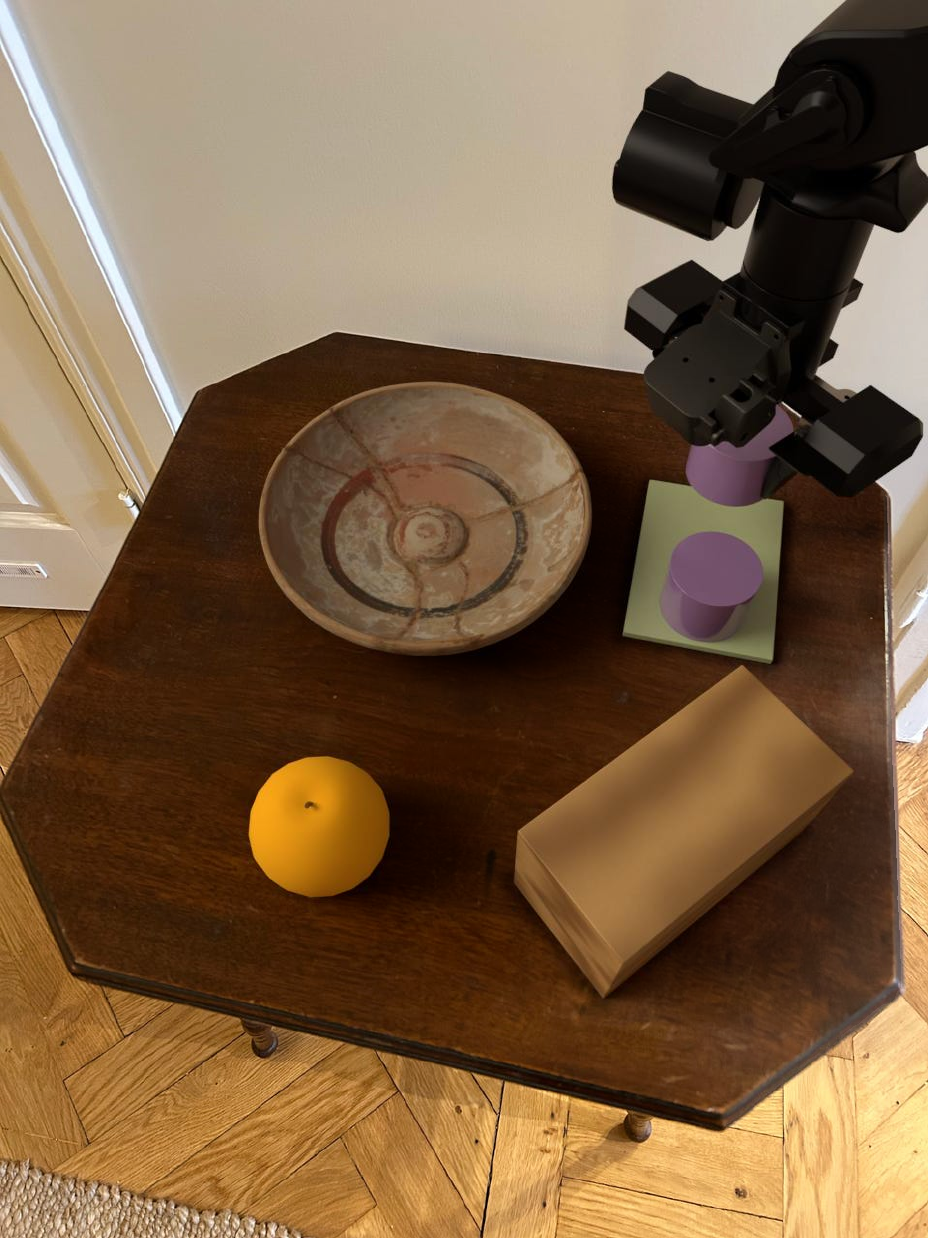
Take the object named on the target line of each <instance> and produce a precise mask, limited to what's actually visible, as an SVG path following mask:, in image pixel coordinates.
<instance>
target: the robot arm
mask: <svg viewBox="0 0 928 1238" xmlns="http://www.w3.org/2000/svg"><path fill="white" fill-rule="evenodd" d="M926 147H928V0H844V1H843V2H842V3H841V4H840V5H839V6H837V7H836V8H835V9H834V10H833V11H832V12H830V14H829V15H828V16H827V17H826V18H824V19H823V20H822V21H821V22H820V23H819V24H817V25H816V26H815V27H814V28H812V30H811V31H810V32H809V33H807V34H806V35H805V36H804V37H803V38H802V39H801V40H799V42H798V43H796V45H794V46H793V47H792V48H791V50H790V51H789V52H788V54H787V56H786V57H785V58H784V60H783V62H782V64H780V66H779V68H778V70H777V73H776V78H775V82H774V85H773V86H772V87H771V88H769V90H767V92H765V93H764V94H763V95H762V96H761V97H760V98H758V100H756V102H754V103H751V102H748V101H745V100H742V99H739V98H736V97H733V96H730V95H727V94H724V93H722V92H719V91H716V90H713V89H711V88H708V87H704V86H702V85H700V84H698V83H696V82H695V81H694V80H692V79H690V78H689V77H687V76H685V75H681V74H679V73H676V72H673V71H670V70H667V71H666V72H664V73H663V74H662V75H660V76H659V77H658V78H657V79H656V80H655V81H653V82H651V84H650V85H649V86H647V87H646V88H645V89H644V95H643V103H642V109H641V111H640V112H639V113H638V115H637V116H636V118H635V120H634V122H633V124H632V125H631V127H630V130H629V131H628V134H627V136H626V138H625V141H624V143H623V146H622V149H621V152H620V156H619V158H618V159H617V160H616V161H615V163H614V166H613V170H612V178H611V192H612V197H613V200H614V202H615V204H617V205H618V206H621V207H623V208H625V209H628V210H629V211H632V212H635V213H638V214H640V215H642V216H644V217H647V218H650V219H652V220H655V221H657V222H660V223H662V224H664V225H667V226H669V227H671V228H675V229H677V230H679V231H682V232H684V233H687V234H689V235H691V236H694V237H697V238H699V239H701V240H703V241H707V242H711V241H712V242H713V241H715V240H716V239H717V238H719V236H720V235H722V233H724V231H725V230H726V228H727V227H728V228H731V229H733V230H738V229H740V228H741V227H742V226H743V225H744V224H745V223H746V222H747V221H748V219H749V217H750V216H751V215H752V213H753V211H754V209H755V208H756V206H757V208H756V211H755V215H754V218H753V222H752V225H751V230H750V234H749V238H748V241H747V243H746V244H747V245H746V248H745V252H744V256H743V260H742V263H741V267H740V270H739V272H737V273H734V274H733V275H731V276H730V277H728V278H726V279H724V280H722V279H720V278H719V277H717V276H716V275H715V274H713V273H712V272H710V271H709V270H708V269H706V268H705V267H704V266H702V265H700V264H699V263H697V261H695V260H693V259H689V260H688V261H685V262H683V263H681V264H679V265H676V267H674V268H672V269H670V270H668V271H666V272H664V273H663V274H661V275H659V276H657V277H655V278H653V279H651V280H650V281H648V282H645V283H644V284H642V285H640V286H639V287H637V288H635V289H634V291H632V294H631V295H630V296H629V297H628V299H627V303H626V310H625V315H624V316H625V317H624V323H623V324H624V325H623V329H624V331H626V332H627V333H628V334H630V335H631V336H632V337H634V338H635V339H636V340H637V341H639V342H640V343H641V344H642V345H644V346H645V347H646V348H648V349H649V350H650V351H652V352H651V354H652V358H653V359H652V360H651V361H650V362H649V363H648V364H647V365H646V367H645V368H644V370H643V380H644V385H645V386H644V387H645V389H646V395H647V400H648V404H649V409H650V411H651V412H652V413H653V414H654V416H656V417H657V418H658V419H661V421H663V422H665V423H666V424H667V425H668V426H669V427H671V428H672V429H673V430H674V431H675V432H677V433H678V434H679V435H680V436H681V437H682V438H683V440H684V441H685V442H687V443H688V444H690V446H691V445H694V446H699V447H700V446H706V445H709V444H712V445H713V446H717V445H719V444H720V443H721V442H729V443H730V444H732V445H733V446H734V447H735V448H740V447H744V446H745V445H746V444H747V443H748V442H750V441H751V440H752V439H753V438H754V437H755V436H756V435H757V434H759V433H760V432H761V431H762V430H763V429H764V428H765V427H767V426H768V425H769V424H770V423H771V421H772V420H773V418H774V417H775V415H776V405H778V406H779V405H780V404H781V403H784V404H785V405H786V406H788V407H789V408H790V409H792V410H793V411H794V412H795V413H796V414H798V415H799V416H800V417H799V420H798V422H797V427H798V428H797V429H795V430H794V431H793V432H792V433H790V434H789V435H787V436H786V437H784V438H783V439H781V440H779V441H778V442H776V443H775V444H773V445H772V446H770V447H769V450H770V451H771V452H772V453H774V454H775V455H776V456H775V458H774V460H773V462H772V465H771V467H770V469H769V471H768V473H767V476H766V478H765V480H764V482H763V485H762V490H761V495H760V496H761V497H762V498H763V499H764V500H765V499H770V497H771V496H774V495H775V494H776V493H777V492H778V491H780V490H781V488H783V487H784V486H785V485H786V484H788V482H789V481H791V480H792V479H793V478H794V477H795V476H796V475H798V474H799V475H801V476H804V477H812V478H813V479H814V480H815V481H817V482H818V483H819V484H821V485H822V486H823V487H824V488H826V489H827V490H828V491H830V492H831V493H832V494H833V495H834V496H836V497H837V498H846V499H847V498H849V499H853V498H854V497H856V496H857V495H859V494H860V493H861V492H863V491H864V490H866V489H867V488H869V487H870V486H872V485H873V484H874V483H876V482H877V481H879V480H880V479H881V478H883V477H885V476H886V475H887V474H889V473H890V472H892V471H893V470H894V469H897V467H899V466H900V465H902V464H903V463H904V462H906V461H907V460H909V459H910V458H911V457H913V455H914V454H915V451H916V450H917V448H918V447H919V445H920V443H921V441H922V439H923V437H924V422H923V421H922V420H921V419H920V418H919V417H917V416H916V415H915V414H913V413H912V412H910V411H909V410H907V409H906V408H905V407H904V406H902V405H901V404H900V403H898V402H896V401H895V400H893V399H892V398H891V397H889V396H888V395H887V394H885V393H883V392H882V391H880V390H879V389H877V388H876V387H875V386H874V385H872V384H869V385H868V386H866V387H865V388H863V389H862V390H861V391H858V392H856V391H854V390H852V389H850V388H840V389H838V388H835V387H834V386H832V385H831V384H830V383H828V382H827V381H826V380H824V379H823V378H821V377H820V376H819V375H817V372H818V369H819V368H821V367H822V366H823V365H825V364H826V363H829V362H830V361H831V360H833V359H834V358H835V356H836V353H837V350H838V348H839V346H840V344H839V343H837V342H836V341H835V340H834V339H832V338H831V337H832V334H833V331H834V329H835V327H836V323H837V321H838V318H839V316H840V314H841V312H842V311H841V310H842V309H844V308H846V307H848V306H849V305H851V304H852V303H854V302H856V301H858V299H859V297H860V294H861V292H862V289H863V286H864V283H863V282H861V281H860V280H858V279H857V278H855V276H856V273H857V270H858V267H859V266H860V262H861V260H862V257H863V255H864V252H865V250H866V248H867V245H868V243H869V239H870V237H871V235H872V232H873V230H874V227H875V226H876V227H879V228H882V229H885V230H887V231H889V232H892V233H896V234H901V233H903V232H906V230H907V229H908V227H910V226H911V224H912V222H914V221H915V219H916V218H917V216H919V214H920V213H921V212H922V210H923V209H924V208H925V207H926V206H927V205H928V174H927V173H926V172H925V171H924V170H923V169H922V168H921V167H920V165H919V163H918V160H917V158H918V157H917V153H916V151H919V150H922V149H924V148H926Z"/></svg>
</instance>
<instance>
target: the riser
mask: <svg viewBox="0 0 928 1238" xmlns="http://www.w3.org/2000/svg"><path fill="white" fill-rule="evenodd" d="M854 772H855V771H854V769H853V768H852V767H851V766H850V765H849V764H847V762H846V761H844V760H843V759H842V757H840V755H838V754H837V753H836V752H835V751H834V750H832V748H831V747H830V746H829V745H828V744H826V743H825V741H824V740H822V739H821V738H820V737H819V736H818V735H817V734H816V733H815V732H814V731H813V730H812V729H811V728H810V727H808V725H806V723H804V722H803V721H802V720H801V719H800V718H799V717H798V716H797V715H796V714H795V713H794V712H793V711H792V710H791V709H790V708H789V707H787V706H786V704H784V702H782V701H781V699H779V698H778V697H777V696H776V695H775V694H774V693H773V692H772V691H771V690H769V688H768V687H766V685H764V684H763V683H762V681H760V680H759V679H758V678H757V677H756V676H755V675H754V674H753V673H752V672H751V671H750V670H749V669H748V668H747V667H745V665H743V664H742V665H740V666H738V667H737V668H736V669H734V670H733V671H732V672H730V673H729V674H728V675H726V676H725V677H724V678H722V679H721V680H719V681H718V682H717V683H716V684H714V685H712V687H710V688H709V689H708V690H706V691H705V692H703V693H702V694H700V695H699V696H698V697H697V698H695V699H694V700H693V701H691V702H690V703H688V704H687V705H685V706H684V707H683V708H681V709H680V710H679V711H678V712H676V713H675V714H674V715H673V716H671V717H669V718H668V719H667V720H666V721H664V722H663V723H661V724H660V725H659V726H657V727H656V728H655V729H653V730H652V731H651V732H650V733H649V732H648V734H646V735H645V736H644V737H643V738H641V739H640V740H638V741H637V742H635V744H633V745H632V746H630V747H629V748H627V749H626V750H625V751H623V753H621V754H619V755H618V756H617V757H616V758H614V759H613V760H611V761H610V762H609V763H608V764H606V765H604V766H603V767H602V768H601V769H599V770H598V771H597V772H595V773H594V774H593V775H591V776H590V777H588V778H587V779H586V780H585V781H583V782H582V783H580V784H579V785H578V786H576V787H575V788H574V789H572V790H571V791H569V793H567V794H565V795H564V796H563V797H562V798H560V799H559V800H557V801H556V802H555V803H553V804H552V805H550V806H549V807H548V808H546V809H545V810H543V812H541V813H540V814H538V815H537V816H536V817H535V818H533V819H531V820H530V821H529V822H528V823H526V824H525V825H524V826H522V827H521V828H520V829H518V830H517V837H516V851H515V861H514V875H513V884H514V885H515V886H516V887H517V889H518V891H519V892H520V893H521V894H522V896H524V898H525V899H526V900H527V902H528V903H529V904H530V906H531V907H532V909H533V910H534V911H535V913H536V914H537V915H538V916H539V917H540V919H541V920H542V921H543V923H544V924H545V925H546V926H547V928H548V929H549V931H550V932H551V933H552V934H553V935H554V937H555V938H556V939H557V941H558V942H559V944H560V945H561V946H562V947H563V949H564V950H565V951H566V953H567V954H568V955H569V956H570V957H571V959H572V960H573V961H574V963H575V964H576V965H577V966H578V968H579V969H580V971H581V972H582V973H583V975H584V976H585V977H586V979H588V981H589V982H590V984H591V985H592V987H594V988H595V990H596V991H597V993H598V995H600V996H601V998H602V999H605V998H606V997H607V996H609V995H610V994H611V993H613V992H614V991H615V990H616V989H617V988H618V987H620V986H621V985H622V984H623V983H624V982H625V981H627V979H629V978H630V977H632V975H634V974H635V973H636V972H638V970H640V969H641V968H642V967H643V966H644V965H646V963H648V962H649V961H650V960H651V959H652V958H654V957H655V956H656V955H657V954H659V953H660V952H661V951H662V950H663V949H664V948H666V947H667V946H669V944H670V943H672V942H673V941H674V940H675V939H676V938H677V937H679V936H680V935H682V933H684V932H685V931H686V930H687V929H688V928H690V927H691V926H692V925H693V924H694V923H695V922H696V921H698V920H699V919H700V918H701V917H703V916H704V915H705V914H706V913H707V912H708V911H709V910H711V909H712V908H713V907H714V906H715V905H717V904H718V903H719V902H720V901H722V900H723V899H724V898H725V897H726V896H727V895H728V894H730V893H731V892H733V890H734V889H736V888H737V887H738V886H739V885H740V884H742V883H743V882H744V881H745V880H746V879H747V878H749V877H750V876H751V875H752V874H753V873H755V872H756V871H758V869H759V868H761V867H762V866H763V865H764V864H766V862H768V861H769V860H770V859H772V858H773V856H775V855H776V854H777V853H778V852H780V851H781V850H782V849H783V848H785V847H786V846H787V845H788V844H789V843H791V841H793V840H794V839H795V838H796V837H797V836H799V835H800V834H801V833H802V832H803V831H804V830H805V829H807V826H809V825H810V824H811V823H812V821H813V820H814V819H815V818H816V817H817V815H818V814H819V813H820V812H821V811H822V809H823V808H824V807H825V806H826V805H827V804H828V802H830V800H831V799H832V798H833V797H834V796H835V794H836V793H837V792H838V791H839V790H840V789H841V788H842V787H843V785H844V784H845V783H846V782H847V780H849V778H850V777H851V776H852V775H853V773H854Z"/></svg>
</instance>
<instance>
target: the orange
mask: <svg viewBox="0 0 928 1238" xmlns="http://www.w3.org/2000/svg"><path fill="white" fill-rule="evenodd" d="M248 837H249V842H250V847H251V852H252V855H253V858H254V860H255V861H256V863H257V864H258V865H259V867H260V869H261V870H262V871H263V872H264V875H266V877H268V879H270V880H272V882H274V883H276V884H277V885H278V886H280V887H281V888H283V889H284V890H286V891H288V892H290V893H294V894H298V895H301V896H304V897H307V898H321V897H323V898H324V897H333V896H336V895H339V894H341V893H344V892H347V891H350V890H352V889H354V888H355V887H356V886H358V885H359V884H361V883H362V882H363V881H365V880H367V879H368V878H369V877H370V876H371V875H372V874H373V872H374V871H375V869H376V868H377V866H378V865H379V864H380V862H381V861H382V859H383V857H384V854H385V850H386V847H387V845H388V841H389V838H390V810H389V807H388V803H387V800H386V798H385V795H384V792H383V790H382V788H381V787H380V786H379V785H378V783H377V782H376V781H375V780H374V778H373V777H372V776H371V775H370V773H368V772H366V771H365V770H364V769H362V768H361V767H359V766H358V765H356V764H354V763H352V762H350V761H347V760H344V759H340V758H337V757H334V756H333V757H332V756H328V755H326V756H325V755H324V756H323V755H322V756H309V757H303V758H301V759H297V760H295V761H292V762H289V763H287V764H285V765H284V766H282V767H281V768H279V769H278V770H276V771H274V772H273V773H272V774H271V775H270V777H269V778H268V779H267V780H266V782H265V783H264V784H263V785H262V787H260V789H259V790H258V793H257V795H256V798H255V800H254V803H253V805H252V808H251V810H250V815H249V827H248Z"/></svg>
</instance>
